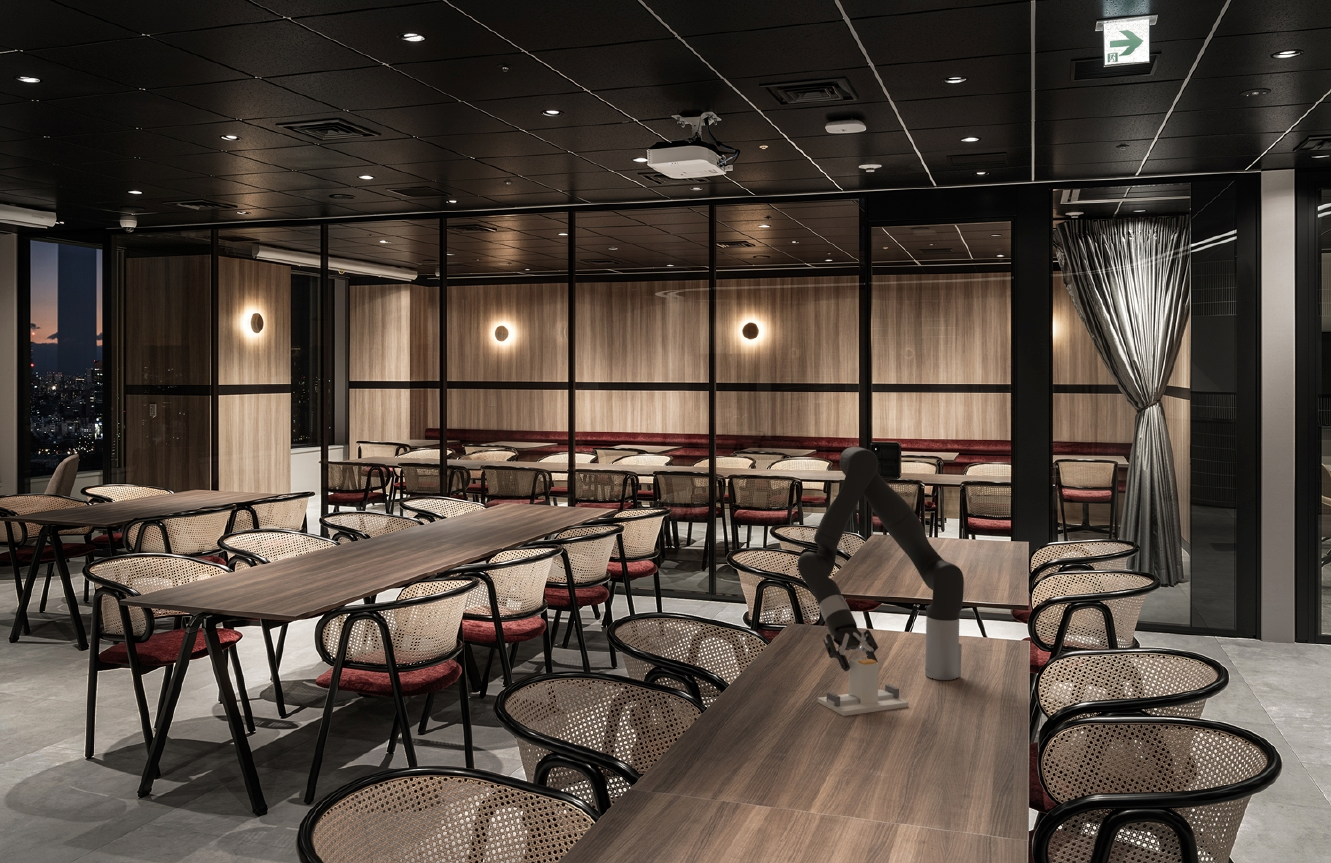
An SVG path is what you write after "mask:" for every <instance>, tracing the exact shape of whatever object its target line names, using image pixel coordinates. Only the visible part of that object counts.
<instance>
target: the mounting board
mask: <svg viewBox="0 0 1331 863" xmlns="http://www.w3.org/2000/svg"><path fill="white" fill-rule="evenodd" d="M884 689H885V690H884ZM884 689H878V702H875V703H868V704H860V699H859V698H857V697H855V696H848V693H845V694H843V693H842V694H836V693H834V692H831V691H828V692H826V696H823V697H817V703H818V704H820V705H822V706H824V707H826V708H828V709H830V710H831V711H834V712H835V713H837V714H839V715H841V716H843V717H846V716H854V715H861V714H867V713H875V712H881V711H889V710H896V709H902V708H909V705H910V704H909V701H907V700H905V699H902V698H901V697H900V688H898V687H896V686H893V685H891V684H890V683H888V684H885V685H884Z"/></svg>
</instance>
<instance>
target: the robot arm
mask: <svg viewBox="0 0 1331 863" xmlns="http://www.w3.org/2000/svg"><path fill="white" fill-rule="evenodd" d="M839 467H840V470H841V471H842V473H843V475H844V476H845V477H844V480H843V482H842V486H841V488H840V490H839V492H837V495H836V496H835V498H834V500H833V501H832V502H831V503H830V505H829V506H828V508H826V511H825V512H824V514H823V515H822V518H821V520H820V522H819V525H818V527H817V529H816V532H815V534H814V537H813V541H814V542H815V543H816V544H817V546H818V547H817V552H812V551H806V552H803V553H802V554H801V555H800V556H799V557H798V559H797V569H798V572H799V575H800V576H801V578H802V580H803V581H804V583H805V584H806V586H807V587H808V588H809V590H811V592H812V593H813V596H814V597H815V601H816V602H817V605H818V607H819V609H820V613H821V617H822V618H823V620H824V622H825V624H826V626H827V629H828V631H829V633H827V634H826V635H825V636H824V637H823V640H822V641H823V644H824V646H825V649H826V651H827V655H828V657H829V658H830V659H836V660H838V663H839V665H840V668H841V669H842V670H843V671H844V672H849V669H850V665H849V660H848V658H847V657H846V655H845V651H846V652H847V651H850V650H854V651H856V650H857V651H858V652H861V653H863V654H864V655H865V656H866V658H867V659H872V660H875V661H876V662H877V663H879V661H878V659H877V657H876V655H875V653H876V651H877V650H878V649H879V646H878V644H877V642H876V640H875V637H874V636H873V635H872V632H871V631H870V629H866V630H865V631H862V632H861V631H860V630H859V629H858V624H857V622H856V620H855V617H854V615H853V613H852V611H851V609H850V606H849V604H848V603H847V601H846V600H845V598H844V596H843V594H842V592H841V590H840V587H839V586H838V584H837V582H836V581H835V580H833V579H832V578H831V577H830V576H831V575H832V573H833V571H834V568H835V564H836V558H837V554H838V553H837V552H838V547H839V544H840V542H841V539H842V537H843V534H844V532H845V530H846V527H847V525H848V523H849V521H850V519H851V516H852V515H853V513H854V511H855V509H856V507H857V505H858V503H859V501H860V499H861V497H862V496H864V498H865V499H866V501H867V503H868V505H869V506H870V507H871V510H872V511H873V512H874V514H875V515H876V517H877V518H878V519H879V521H880V522H881V524H882V525H883V527H884V528H885V529H886V531H887V532H888V534H890V536H891V538H892V539H893V540H894V541H895V542H896V544H897V545H898V546H899V547H900V549H901V550H902V551H903V552H904V553H905V554H906V555H907V557H908V558H909V559H910V560H911V562H912V564H913V565H914V567H915V569H916V571H917V572H918V574H919V576H920V577H921V579H922V581H923V582H924V584H925V585H926V587H928V588H929V589H930V590H932V600H931V604H929V605H928V606H926V612H925V613H926V615H925V616H926V620H925V621H926V622H925V659H924V661H925V663H924V675H925V677H927V678H930V679H932V678H933V680H939V681H953V679H954V680H957V679H958V678H961V677H962V649H963V648H962V643H960V617H961V616H960V614H961V611H962V608H963V604H964V603H963V602H964V591H965V590H964V589H965V587H964V586H965V579H964V574H963V572H962V570H961V568H960V567H959V566H957V565H956V564H953V563H951V562H949V561H946V560H945V559H943V557H941V556H940V554H939V553H938V552H937V551H936V550H935V549H934V547H933V546H932V545H931V543H930V541H929V540H928V537H927V534H926V531H925V529H924V526H923V524H922V522H921V520H920V519H919V517H918V515H917V514H916V513H915V512H914V510H913V509H912V508H911V506H910V504H908V502H907V501H906V500H905V498H903V497H902V496H901V495H900V494H899V493H897V491H896V490H895V489H893V488H892V487H891V486H890V485H889V484H888V483H887V482H886V481H885V480H884V479H883V477H882V476H881V475H880V473H879V472H878V469H879V459H878V456H877V455H876V454H875V452H873V451H872V450H869V449H868V448H863V447H860V446H850V447H848V448H846V449H844V450H843V451H842V453H841V454H840V457H839ZM835 643H836V644H835ZM836 645H837V648H836ZM956 678H957V679H956Z"/></svg>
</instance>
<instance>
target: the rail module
mask: <svg viewBox="0 0 1331 863" xmlns="http://www.w3.org/2000/svg"><path fill="white" fill-rule="evenodd" d="M848 663H849V665H850V669H849V670H848V693H847V694H848V696H855V697H857V698H859V699H860V704H868V703H875V702H878V690H879V670H880V669H879V666H880V665H879V662H878V663H877V662H876V661H875V660H872V659H867V657H859V658H858V657H857V658H851V659H848Z"/></svg>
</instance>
